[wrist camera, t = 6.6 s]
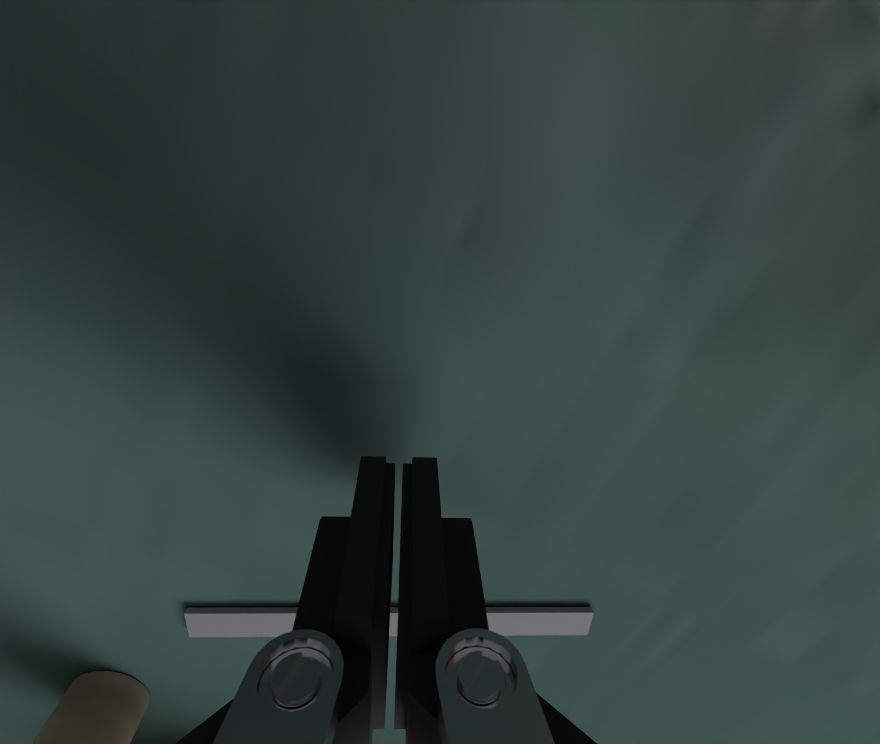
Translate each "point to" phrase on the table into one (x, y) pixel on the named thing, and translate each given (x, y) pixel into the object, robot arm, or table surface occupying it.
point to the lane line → (283, 618)
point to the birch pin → (97, 711)
